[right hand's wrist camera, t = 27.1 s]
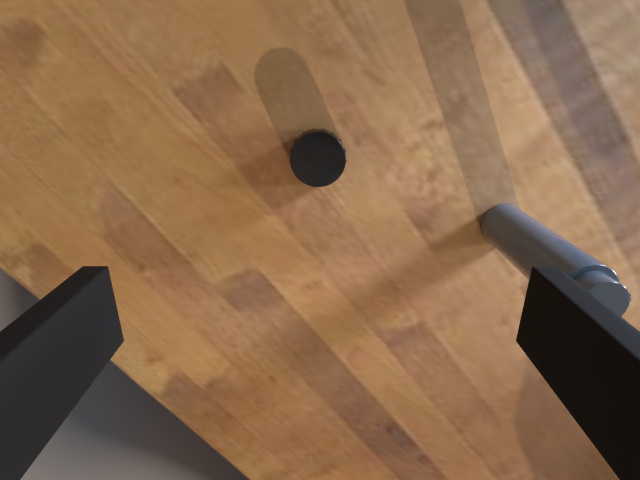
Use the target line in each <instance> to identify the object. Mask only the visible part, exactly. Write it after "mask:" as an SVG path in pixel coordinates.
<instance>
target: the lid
mask: <svg viewBox="0 0 640 480" xmlns="http://www.w3.org/2000/svg"><path fill="white" fill-rule="evenodd" d="M290 152H291V156H290V162H291V167H292V170H293V172H294V174H295V175H296V177H297V178H298V179H299V180H300V181H302V182H303V183H305V184H307V185H309V186H314V187H323V186H327V185H329V184H331V183H333V182H334V181H336V180H337V179H338V178H339V177H340V175H341V174H342V172H343V170H344V167H345V163H346V156H345V152H346V151H345V148H343V145H342V143H341V140H339V139H338V138H337V137H336V136H335V135H334V133H333V132H332V133H331V132H329V131H327V130H324V129H312V130H309V131H307V132H305V133H304V132H303V134H302V135H301V136H300V137H299V138H298V139H296V140H295V144H294V146H293V148H292V149H291V151H290Z"/></svg>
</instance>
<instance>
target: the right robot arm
mask: <svg viewBox="0 0 640 480" xmlns="http://www.w3.org/2000/svg"><path fill="white" fill-rule="evenodd" d="M123 341H124V339H123V334H122V330H121V325H120V320H119V316H118V311H117V307H116V302H115V297H114V293H113V288H112V283H111V279H110V274H109V270H108V266H83V267H82V268H80V269H79V270H78V271H77V272H75V273H74V274H73V275H72V276H70V277H69V278H68V279H66V280H65V281H64V282H63V283H61V284H60V285H59V286H58V287H56V288H55V289H54V290H53V291H51V292H50V293H49V294H47V295H46V296H45V297H44V298H42V299H41V300H40V301H39V302H37V303H36V304H35V305H34V306H32V307H31V308H30V309H29V310H27V311H26V312H25V313H24V314H22V315H21V316H20V317H18V318H17V319H16V320H15V321H13V322H12V323H11V324H10V325H8V326H7V327H6V328H5V329H3V330H2V331H1V332H0V480H20V479H21V478H22V476H23V475H24V474H25V472H26V471H27V470H28V468H29V467H30V466H31V464H32V463H33V462H34V460H35V459H36V458H37V456H38V455H39V454H40V452H41V451H42V450H43V448H44V447H45V446H46V444H47V443H48V442H49V440H50V439H51V438H52V436H53V435H54V434H55V432H56V431H57V430H58V428H59V427H60V426H61V424H62V423H63V422H64V420H65V419H66V418H67V416H68V415H69V414H70V412H71V411H72V410H73V408H74V407H75V406H76V404H77V403H78V402H79V400H80V399H81V398H82V396H83V395H84V393H85V392H86V391H87V390H88V388H89V387H90V386H91V384H92V383H93V382H94V380H95V379H96V377H97V376H98V375H99V373H100V372H101V371H102V369H103V368H104V367H105V365H106V364H107V363H108V361H109V360H110V359H111V357H112V356H113V355H114V353H115V352H116V351H117V349H118V348H119V347H120V345H121V344H122V343H123ZM516 341H517V343H518V344H519V345H520V347H521V348H522V349H523V351H524V352H525V353H526V355H527V356H528V357H529V359H530V360H531V361H532V363H533V364H534V365H535V367H536V368H537V369H538V371H539V372H540V373H541V375H542V376H543V378H544V379H545V380H546V382H547V383H548V384H549V386H550V387H551V388H552V390H553V391H554V392H555V394H556V395H557V396H558V398H559V399H560V400H561V402H562V403H563V404H564V406H565V407H566V408H567V410H568V411H569V412H570V414H571V415H572V416H573V418H574V419H575V420H576V422H577V423H578V424H579V426H580V427H581V428H582V430H583V431H584V432H585V434H586V435H587V436H588V438H589V439H590V440H591V442H592V443H593V444H594V446H595V447H596V448H597V450H598V451H599V452H600V454H601V455H602V456H603V458H604V459H605V460H606V462H607V463H608V464H609V466H610V467H611V468H612V470H613V471H614V472H615V474H616V475H617V476H618V478H619V479H620V480H640V332H639V331H638V330H637V329H635V328H634V327H633V326H632V325H630V324H629V323H628V322H627V321H625V320H624V319H623V318H622V317H620V316H619V315H618V314H617V313H615V312H614V311H613V310H611V309H610V308H609V307H608V306H606V305H605V304H604V303H603V302H601V301H600V300H599V299H598V298H596V297H595V296H594V295H593V294H591V293H590V292H589V291H587V290H586V289H585V288H584V287H582V286H581V285H580V284H579V283H577V282H576V281H575V280H574V279H572V278H571V277H570V276H568V275H567V274H566V273H565V272H563V271H562V270H561V269H560V268H558V267H557V266H532V270H531V274H530V279H529V283H528V288H527V293H526V297H525V302H524V307H523V311H522V316H521V320H520V325H519V330H518V334H517V339H516Z"/></svg>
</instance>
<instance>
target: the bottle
mask: <svg viewBox="0 0 640 480" xmlns="http://www.w3.org/2000/svg"><path fill="white" fill-rule="evenodd" d="M481 232H482V234H483V236H484V237H485V238H486V239H487V240H488V241H489V242H490V243H491V244H492V245H493V246H494V247H495V248H496V249H497V250H498V251H499V252H500V253H501V254H502V255H503V256H504V257H505V258H506V259H508V260H509V261H510V262H511V263H512V264H513V265H514V266H515V267H516V268H517V269H518V270H519V271H520V272H521V273H522V274H523V275H524V276H525V277H526V278H527V279H528V280H529V279H530V274H531V270H532V266H557V267H558V268H560V269H561V270H562V271H563V272H565V273H566V274H567V275H568V276H570V277H571V278H572V279H574V280H575V281H576V282H577V283H579V284H580V285H581V286H582V287H584V288H585V289H586V290H587V291H589V292H590V293H591V294H593V295H594V296H595V297H596V298H598V299H599V300H600V301H601V302H603V303H604V304H605V305H606V306H608V307H609V308H610V309H611V310H613V311H614V312H615V313H617V314H618V315H619V316H620V317H621V316H622V315H623V314H624V313H625V311H626V310H627V308H628V306H629V303H630V301H631V294H629V292H628V290H627V288H626V287H625V286H624V285H622V284H621V283H619V278H618V276H617V274H616V273H615V272H614V271H613V270H612V269H611V268H609V267H608V266H606V265H605V264H603V263H602V262H600V261H598V260H597V259H595V258H594V257H592V256H591V255H589V254H588V253H586V252H585V251H583V250H582V249H580V248H579V247H577V246H575V245H574V244H572V243H571V242H569V241H568V240H566V239H565V238H563V237H562V236H560V235H559V234H557V233H555V232H554V231H552V230H551V229H549V228H548V227H546V226H545V225H543V224H542V223H540V222H539V221H537V220H536V219H534V218H532V217H531V216H529V215H528V214H526V213H525V212H523V211H522V210H520V209H519V208H517V207H516V206H514V205H511V204H500V205H497V206H495V207H493V208H491V209H490V210H489V211H488V212H487V213H486V214H485V215H484V217H483V219H482V222H481Z"/></svg>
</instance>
